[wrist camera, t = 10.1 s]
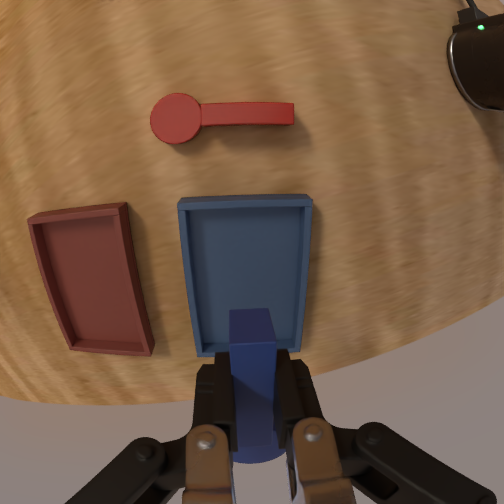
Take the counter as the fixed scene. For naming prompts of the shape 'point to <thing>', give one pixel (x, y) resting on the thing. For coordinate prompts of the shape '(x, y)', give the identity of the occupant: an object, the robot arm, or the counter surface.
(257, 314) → the blue spoon
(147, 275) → the counter surface
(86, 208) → the red tray
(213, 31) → the counter surface
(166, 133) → the red spoon
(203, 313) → the blue tray
